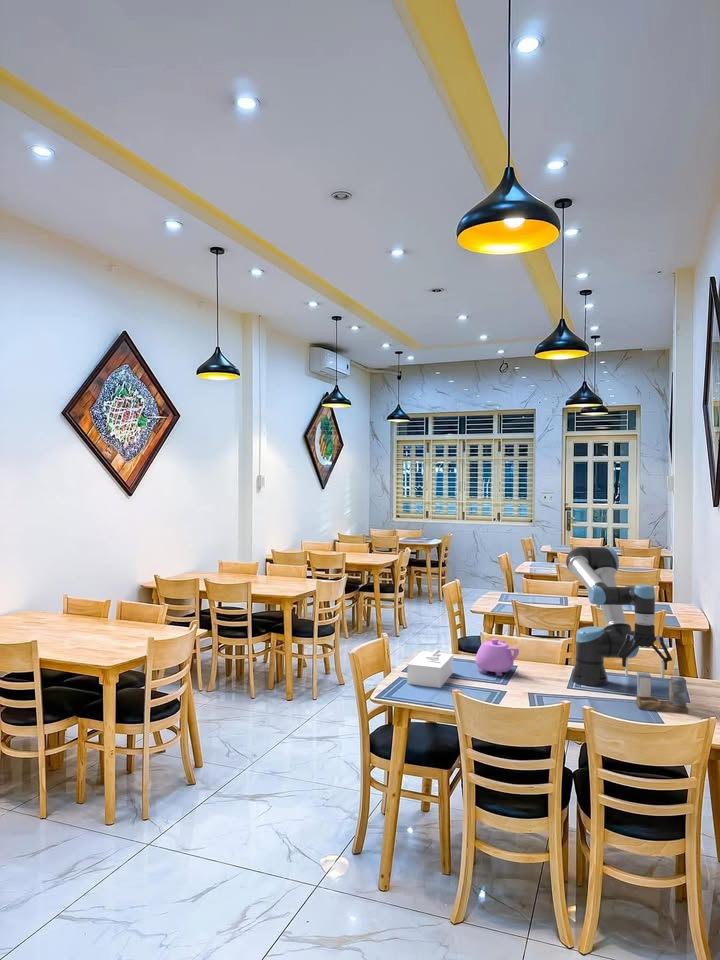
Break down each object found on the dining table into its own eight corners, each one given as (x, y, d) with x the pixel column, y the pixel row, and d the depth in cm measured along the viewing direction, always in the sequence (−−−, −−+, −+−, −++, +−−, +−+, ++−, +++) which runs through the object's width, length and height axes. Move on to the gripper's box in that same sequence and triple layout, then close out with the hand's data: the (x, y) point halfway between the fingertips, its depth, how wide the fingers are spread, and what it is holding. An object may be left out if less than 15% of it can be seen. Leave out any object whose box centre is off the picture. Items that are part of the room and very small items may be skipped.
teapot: (527, 670, 302) (527, 637, 302) (512, 680, 285) (513, 646, 285) (486, 663, 312) (487, 632, 313) (470, 672, 295) (471, 639, 296)
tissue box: (407, 684, 277) (407, 658, 277) (422, 669, 300) (422, 646, 301) (440, 688, 272) (440, 662, 272) (452, 673, 295) (453, 649, 296)
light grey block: (636, 696, 265) (637, 671, 265) (648, 697, 264) (648, 672, 264) (639, 700, 260) (639, 675, 260) (651, 701, 259) (651, 676, 259)
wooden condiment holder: (639, 709, 249) (639, 677, 249) (636, 703, 256) (636, 672, 256) (687, 713, 245) (688, 681, 245) (683, 707, 252) (683, 676, 252)
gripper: (613, 623, 262) (612, 676, 261) (680, 627, 256) (680, 681, 255) (610, 620, 269) (610, 671, 269) (675, 623, 263) (675, 676, 263)
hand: (644, 676), depth 262 cm, fingers open, 13 cm apart
